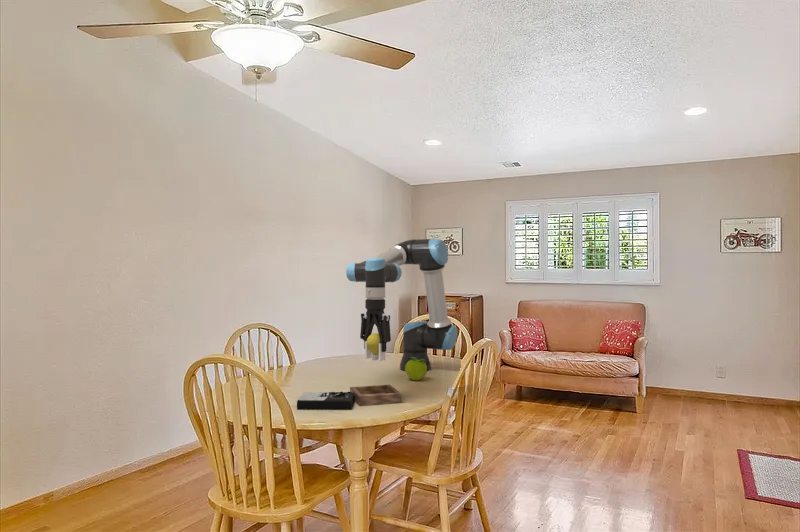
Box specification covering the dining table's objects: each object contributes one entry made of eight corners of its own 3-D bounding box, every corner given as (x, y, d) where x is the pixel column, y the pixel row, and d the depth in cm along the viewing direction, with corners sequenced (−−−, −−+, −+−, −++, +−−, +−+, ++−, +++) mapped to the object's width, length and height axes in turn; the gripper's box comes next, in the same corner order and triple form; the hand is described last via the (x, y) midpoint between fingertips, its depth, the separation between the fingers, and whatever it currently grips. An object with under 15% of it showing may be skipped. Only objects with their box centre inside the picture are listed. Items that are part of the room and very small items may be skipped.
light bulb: (366, 358, 208) (366, 332, 208) (383, 358, 208) (383, 332, 208) (366, 361, 201) (366, 334, 201) (384, 361, 202) (384, 334, 202)
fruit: (415, 376, 246) (415, 354, 246) (430, 380, 239) (430, 357, 239) (401, 379, 239) (401, 357, 239) (416, 383, 233) (416, 360, 233)
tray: (389, 392, 215) (389, 384, 215) (401, 402, 199) (401, 393, 199) (350, 395, 210) (350, 387, 210) (359, 406, 195) (359, 396, 195)
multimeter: (351, 411, 189) (351, 397, 189) (296, 411, 190) (296, 396, 190) (354, 401, 202) (354, 388, 202) (303, 401, 203) (303, 388, 203)
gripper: (350, 297, 208) (350, 357, 208) (387, 300, 195) (386, 363, 195) (364, 297, 214) (364, 355, 214) (401, 299, 201) (400, 361, 201)
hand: (375, 359), depth 205 cm, fingers closed on light bulb, 7 cm apart
